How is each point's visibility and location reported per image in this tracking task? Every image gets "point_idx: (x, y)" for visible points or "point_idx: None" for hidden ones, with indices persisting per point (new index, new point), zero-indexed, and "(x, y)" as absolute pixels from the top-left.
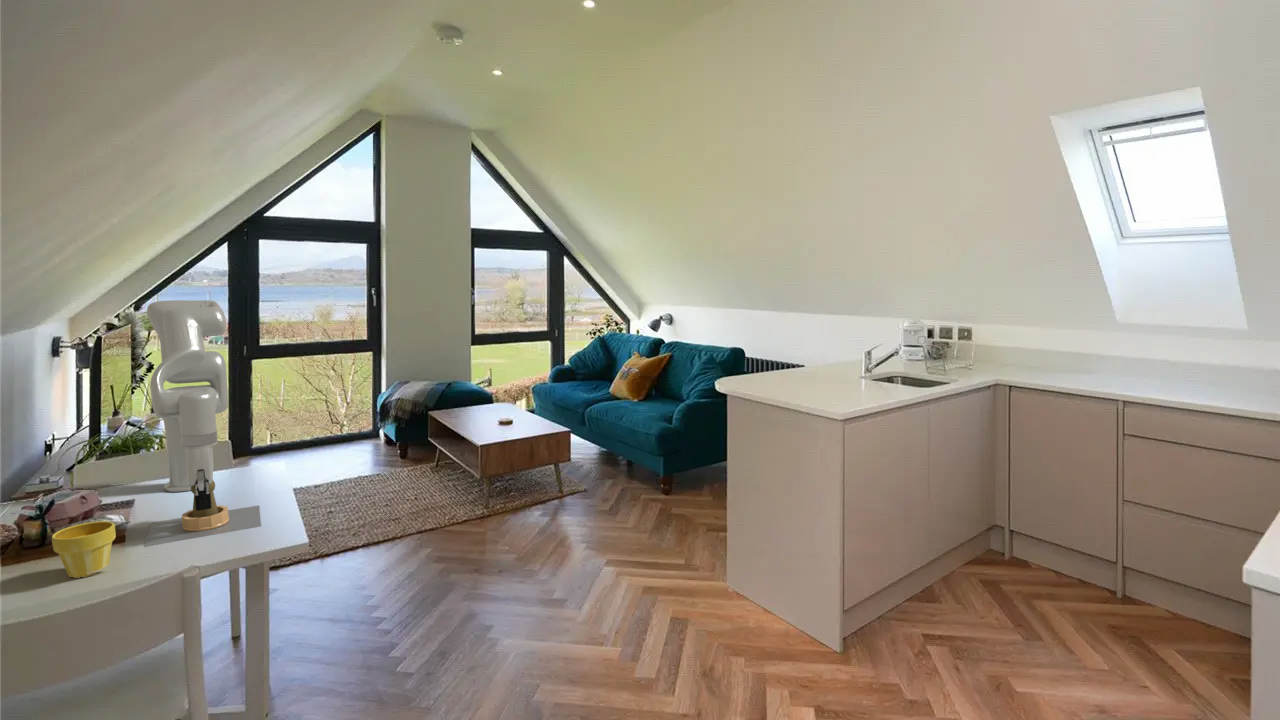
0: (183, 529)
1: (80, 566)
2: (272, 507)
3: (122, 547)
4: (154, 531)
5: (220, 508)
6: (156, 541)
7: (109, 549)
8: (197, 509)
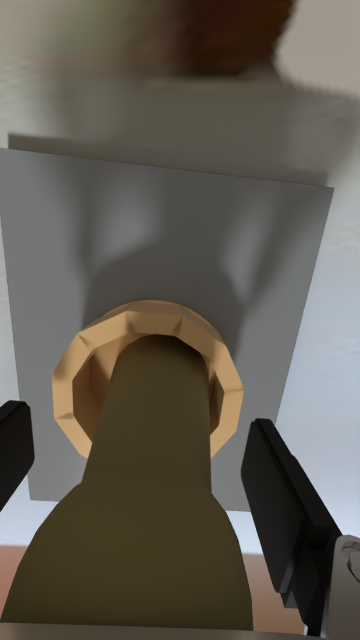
0: (133, 301)
1: None
2: (235, 524)
3: (105, 64)
4: (189, 195)
5: None
6: (41, 200)
7: None
8: (7, 408)
